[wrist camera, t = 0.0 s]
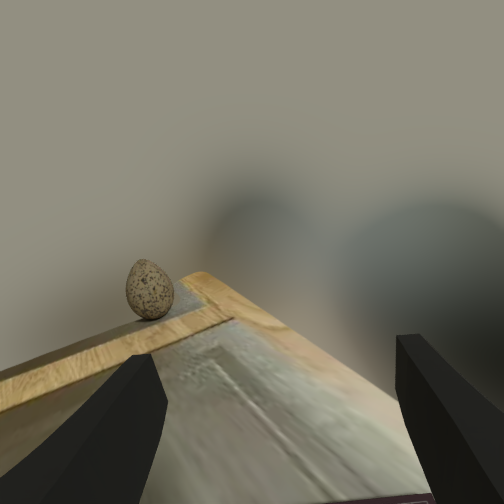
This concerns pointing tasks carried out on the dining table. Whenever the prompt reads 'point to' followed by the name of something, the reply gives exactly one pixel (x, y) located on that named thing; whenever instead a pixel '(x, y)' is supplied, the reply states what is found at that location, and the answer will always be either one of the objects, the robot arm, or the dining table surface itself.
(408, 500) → the chocolate bar
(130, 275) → the decorative egg
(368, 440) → the dining table surface
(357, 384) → the dining table surface
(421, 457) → the robot arm
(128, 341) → the dining table surface
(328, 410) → the dining table surface
